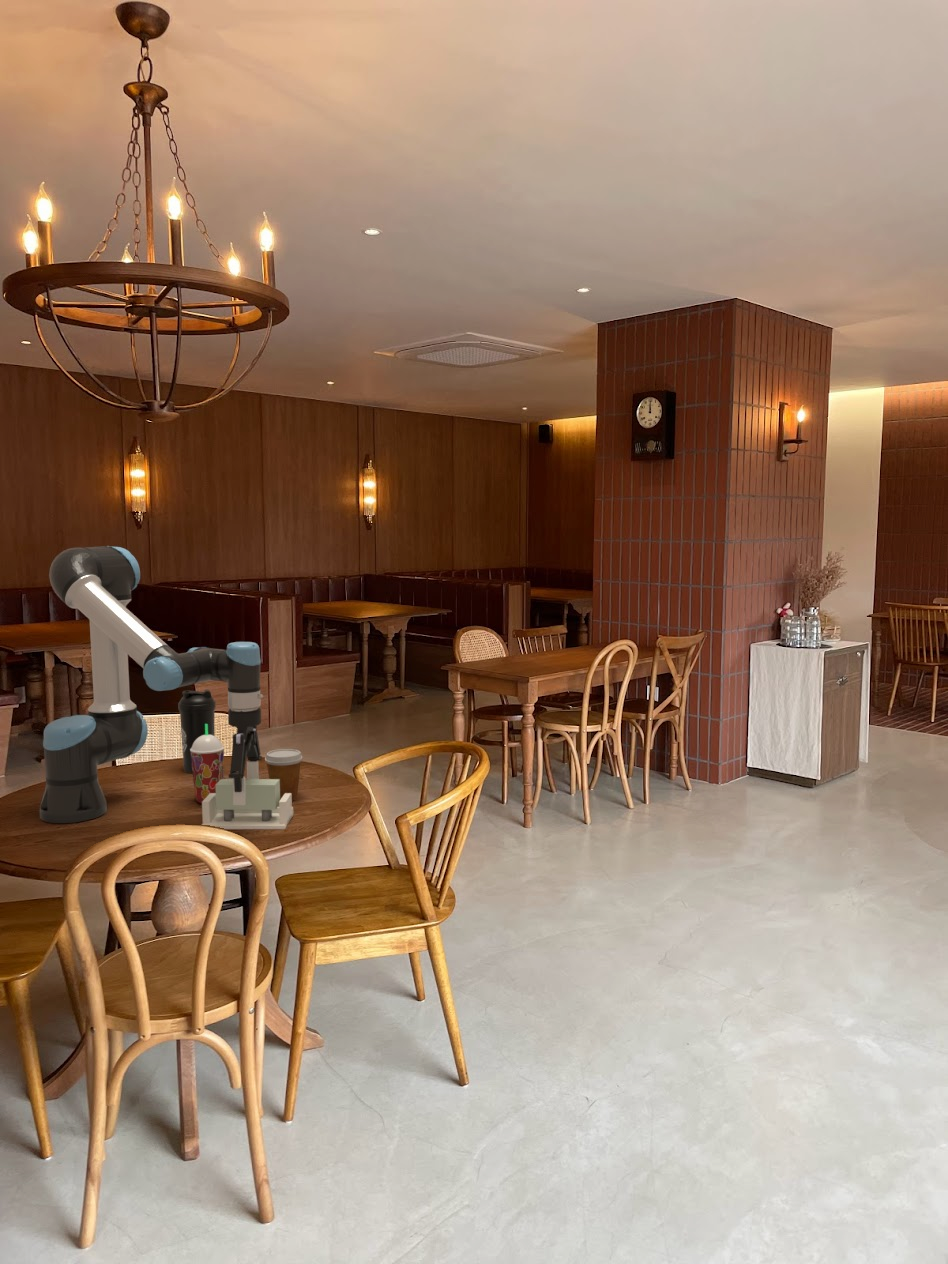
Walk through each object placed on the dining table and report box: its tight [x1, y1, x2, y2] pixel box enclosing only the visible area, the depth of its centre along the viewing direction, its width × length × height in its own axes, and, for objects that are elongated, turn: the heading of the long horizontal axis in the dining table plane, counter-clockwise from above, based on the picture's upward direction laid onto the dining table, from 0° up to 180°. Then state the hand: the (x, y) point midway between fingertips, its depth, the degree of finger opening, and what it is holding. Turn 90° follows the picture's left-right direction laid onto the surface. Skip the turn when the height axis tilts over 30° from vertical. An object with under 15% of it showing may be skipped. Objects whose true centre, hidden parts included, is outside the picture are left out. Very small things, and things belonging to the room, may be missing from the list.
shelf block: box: [215, 778, 280, 810], centre depth 226 cm, size 14×5×6 cm, turn 89°
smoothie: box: [190, 724, 225, 804], centre depth 243 cm, size 8×8×20 cm
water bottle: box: [177, 689, 216, 775], centre depth 272 cm, size 10×10×23 cm
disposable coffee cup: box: [264, 748, 303, 801], centre depth 245 cm, size 10×10×12 cm
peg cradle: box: [201, 793, 294, 830], centre depth 227 cm, size 20×11×6 cm, turn 90°
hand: (246, 796), depth 227 cm, fingers open, 13 cm apart
